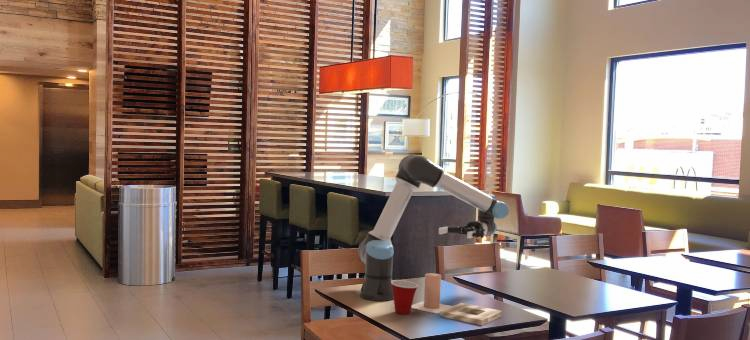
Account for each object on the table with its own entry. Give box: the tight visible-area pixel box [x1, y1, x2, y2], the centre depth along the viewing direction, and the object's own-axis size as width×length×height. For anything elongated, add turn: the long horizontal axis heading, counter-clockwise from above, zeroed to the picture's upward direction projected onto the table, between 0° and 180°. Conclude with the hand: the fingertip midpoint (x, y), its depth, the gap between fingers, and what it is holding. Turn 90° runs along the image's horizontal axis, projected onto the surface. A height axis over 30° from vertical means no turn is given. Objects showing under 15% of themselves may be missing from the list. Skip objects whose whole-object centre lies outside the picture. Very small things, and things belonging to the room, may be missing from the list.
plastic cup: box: [391, 279, 419, 315], centre depth 252 cm, size 11×11×12 cm
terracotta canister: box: [423, 272, 442, 309], centre depth 261 cm, size 6×6×13 cm
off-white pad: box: [411, 300, 452, 315], centre depth 262 cm, size 14×14×1 cm
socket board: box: [439, 302, 503, 326], centre depth 251 cm, size 18×18×2 cm
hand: (453, 233), depth 273 cm, fingers open, 13 cm apart
